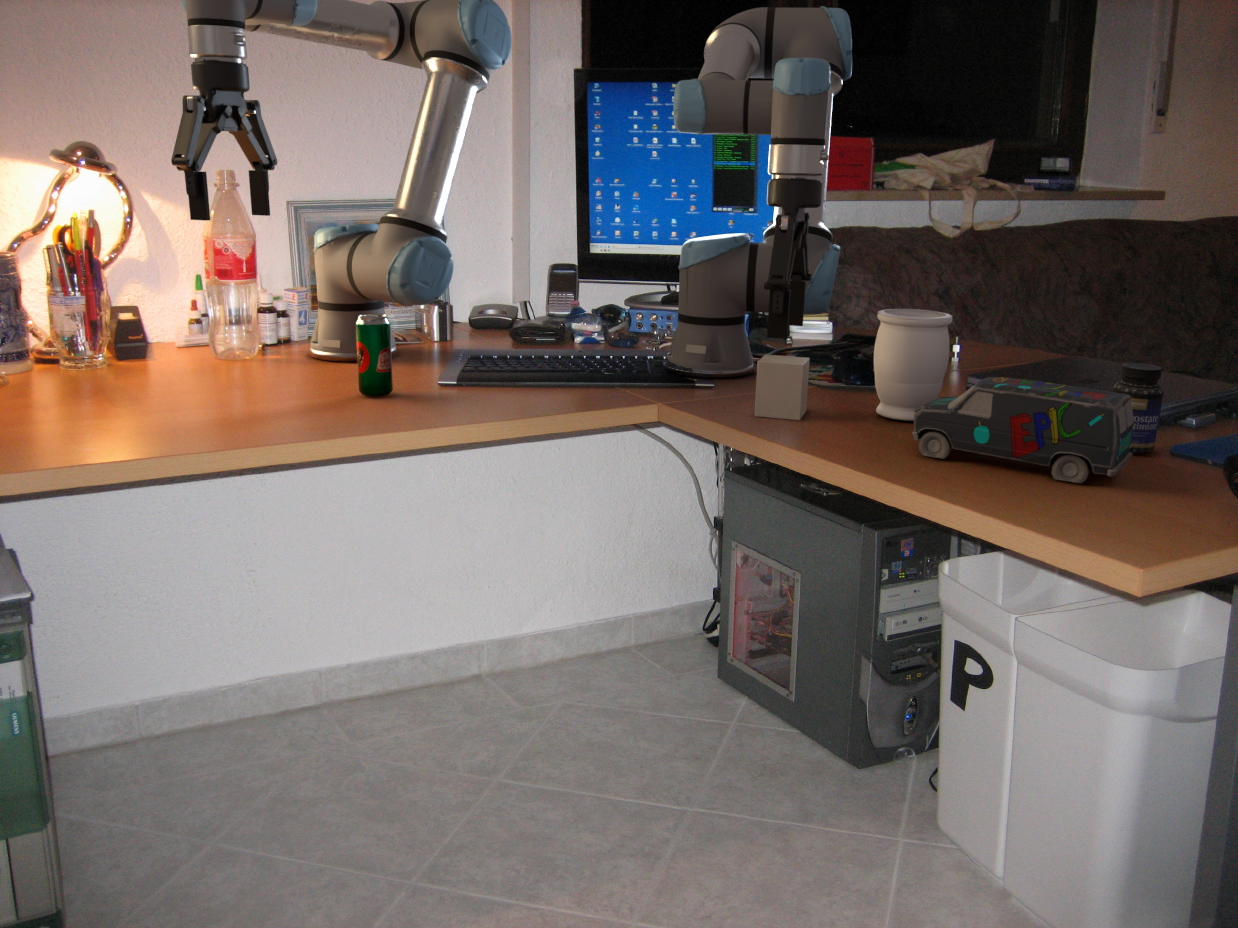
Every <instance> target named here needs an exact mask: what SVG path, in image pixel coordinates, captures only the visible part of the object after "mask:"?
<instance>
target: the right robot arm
mask: <svg viewBox="0 0 1238 928" xmlns="http://www.w3.org/2000/svg"><path fill="white" fill-rule="evenodd" d="M852 50H853V39H852V26H851V20H850V16H849V14H848V12H847V11H846V10H845V9H843V8H840V7H826V6H824V5H821V6H820V7H767V6H765V7H763V6H762V7H755V8H750V9H747V10H743V11H742V12H739V13H736V14H734V15H732V16H730V17H728V18H727V19H725V20H723V21H722V22H721V23H720V24H718V25H717V26H716V27H715V28H714V29H713V30H712V31H711V33H710V34H709V35H708V37H707V40H706V42H705V45H704V50H703V59H704V63H703V65H702V67H701V70H700V71H699V75H698V77H697V78H692V79H682V80H679V81H678V82H677V83H676V84H675V88H674V93H673V109H672V111H673V124H674V128H675V130H676V131H677V132H679V133H680V134H681V133H682V134H695V135H697V136H701V135H749V136H750V135H751V136H752V135H753V136H770V142H769V143H770V144H769V148H768V149H769V150H768V164H767V173H768V174H769V175H771V179H769V181H767V190H766V204H767V206H768V207H772V208H774V209H773V223H772V224H771V225H770V226H769V227H767V228H766V229H765V230H764V232H763V234H762V235H763V238H762V242H752V241H751V237H750V235H749V233H746V232H741V233H738V232H737V233H724V234H715V235H708V236H701V237H700V236H699V237H694V238H691V239H687V240H686V241H685V242H684V243H683V244H682V246H681V249H680V257H679V265H678V270H679V274H678V275H679V276H678V278H679V281H678V305H677V325H676V328H675V331H674V334H673V336H672V340H671V343H670V346H669V349H668V352H667V354H666V359H668V360H669V361H670V362H671V363H674V364H677V365H679V366H682V367H685V368H694V369H696V370H701V371H705V372H711V373H699V372H689V371H683V370H678V369H674V368H671V367H669V366H667V365H666V364H665V370H667V371H668V372H670V373H673V374H676V375H679V376H680V375H681V376H686V377H694V378H705V379H706V378H707V379H727V378H728V379H729V378H739V377H743V376H744V377H745V376H748V375H750V374H752V373H753V372H754V359H755V358H756V359H759V360H760V359H761V358H762V357H763V356H764V355H776V354H780V353H787V352H795V351H806V350H807V351H808V350H816V349H817V350H818V349H819V350H820V349H830V348H829V347H832V348H834V347H833V346H839V345H843V344H845V343H847V342H848V341H844V342H836V343H835V342H834V343H825V344H824V343H823V344H812V345H811V344H810V345H802V346H801V345H800V346H790V347H782V348H778V349H775V350H772V351H771V352H769V353H766V354H759V353H754V352H752V351H751V346H750V341H749V337H748V335H747V332H746V331H747V330H746V315H747V314H746V313H747V312H748V313H749V312H750V313H751V312H752V313H768V314H767V315H768V316H767V317H768V318H767V332H766V333H767V334H766V335H767V336H766V338H770V339H782V340H783V339H784V340H787V339H788V337H789V326H790V327H791V326H792V327H793V326H794V327H803V326H804V315H820V314H823V313H825V312H827V310H828V308H829V307H830V303H831V299H832V294H833V290H834V285H835V280H836V275H837V269H838V265H839V260H840V255H841V246H840V245H838V244H836V243H833V233H832V232H831V231H830V230H829V229H828V228H827V227H826V226H825V219H826V218H825V216H826V202H827V190H828V189H827V187H828V173H829V159H830V146H831V145H830V143H831V140H830V139H831V129H832V128H831V127H832V114H833V113H832V112H833V98H834V96H836V95H837V94H839V92H840V91H841V90H842V88H843V84H844V83H843V81H844V82H845V81H846V80H849V79H851V77H852V73H853V51H852ZM749 79H767V80H749Z"/></svg>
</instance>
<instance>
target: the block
mask: <svg viewBox="0 0 1238 928" xmlns="http://www.w3.org/2000/svg"><path fill="white" fill-rule="evenodd" d="M763 355H764V356H763V357H762V358H761V359H760V358H759V360H758V361H757V362H756V363H757V365H756V379H755V381H756V382H755V383H756V384H755V396H754V397H755V400H754V417H758V418H759V417H760V418H769V419H770V418H771V419H780V420H782V419H783V420H793V421H801V420H802V418H803V416H804V415H805V414H806V412H807V402H808V390H809V388H808V387H809V373H810V362H811V361H810V360H811V358H810V357H805V356H790V355H776V354H775V355H766V354H763Z"/></svg>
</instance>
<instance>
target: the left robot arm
mask: <svg viewBox="0 0 1238 928" xmlns="http://www.w3.org/2000/svg"><path fill="white" fill-rule="evenodd" d="M181 5H182V8H183V11H184V13H185V16H186V20H187V38H188V51H189V53H188V55H189V56H190V57H191V58H193V59H194V61H192V62H191V64H190V72H191V81H192V83H191V84H192V88H193V89H194V90H196V91H199V92H198V93H199V95H198V94H197V95H194V94H193V95H192V94H191V95H188V94H187V95H183V96H182V99H181V100H182V101H181V102H182V113H181V116H180V122H179V126H178V129H177V134H176V139H175V142H174V147H173V151H172V155H171V159H170V162H171V165H172V166H173V167H176V169H177V171H179V172H183V173H184V181H185V192H186V194H187V196H188V197H187V198H188V205H189V207H188V209H189V217H190V220H191V221H211V213H210V212H211V209H210V200H209V188H208V177H207V171H202V169H203V166H204V164H205V162H206V160H207V158H208V156H209V153H210V151H211V148H212V147H213V145H214V142H215V140H216V138H217V137H218V135H219V134H220V133H222V132H228V133H229V134H230V135H232V136H233V137H234V139H235V141H236V142H237V144H238V146H239V148H240V150H241V152H242V153H243V154H244V156H245V158H246V159H247V161H248V163H249V164H250V166H251V168H252V169H249V170H248V181H249V182H248V183H249V195H250V208H251V215H252V216H263V217H264V216H265V217H268V216H269V217H270V216H271V207H270V193H269V192H270V180H269V179H270V178H269V171H274V170H275V169H276V166H277V165H278V158H277V155H276V153H275V150H274V147H273V144H272V142H271V139H270V136H269V133H268V130H267V128H266V125H265V121H264V119H263V115H262V110H261V103H260V101H259V99H245V95H244V94H245V93H247V92H248V91H250V87H251V86H250V85H251V84H250V74H249V66H247V64H246V63H244V61H246V60H247V59H248V53H247V41H246V40H247V39H246V32H250V33H257V34H262V35H267V36H273V37H280V38H286V39H292V40H297V41H303V42H310V43H313V44H315V43H316V44H320V45H326V46H332V47H339V48H344V49H351V50H357V51H361V52H362V51H363V52H366V54H367V55H368V56H369V57H370V58H372V59H373V60H378V61H384V62H388V63H393V64H398V65H401V66H406V67H411V68H414V69H419V70H423V72H424V74H425V76H426V77H427V78H426V82H425V85H424V89H423V93H422V97H421V101H420V105H419V108H418V112H417V114H416V115H417V116H416V119H415V123H414V126H413V131H412V134H411V138H410V142H409V146H408V149H407V152H406V157H405V161H404V165H403V168H402V172H401V176H400V180H399V184H398V187H397V190H396V195H395V198H394V201H393V206H392V208H391V210H389V211H387V212H385V213H383V214H382V215H381V216H380V219H379V223H360V224H357V223H356V224H348V225H335V226H327V227H321V228H319V229H318V230H316V231H315V233H314V238H313V240H314V241H313V243H314V244H313V245H314V246H313V247H314V248H313V256H314V257H313V259H314V271H315V281H316V283H315V285H316V297H317V310H318V311H317V316H316V321H315V323H314V327H313V331H312V335H311V338H310V342H309V355H310V356H311V357H312V358H314V359H317V360H323V361H331V362H358V361H357V341H356V322H357V320H358V315H362V314H385V315H387V314H386V311H385V303H392V304H399V305H400V306H405V307H406V306H407V307H409V306H427V305H430V304H432V303H433V302H435V301H437V300H438V299H440V298H441V297H442V296H443V294H444V293H445V292H446V291H447V289H448V287H449V285H450V283H451V281H452V278H453V274H454V267H455V266H454V260H453V259H452V256H453V254H452V251H451V249H450V247H449V246H448V244H447V241H448V234H447V232H446V230H445V229H444V227H443V221H444V217H445V213H446V209H447V206H448V203H449V197H450V195H451V190H452V187H453V183H454V179H455V175H456V171H457V167H458V163H459V160H460V156H461V152H462V148H463V146H464V145H463V144H464V141H465V137H466V133H467V130H468V125H469V123H470V119H471V114H472V111H473V106H474V103H475V99H476V96H477V94H478V93H481V92H482V91H484V90H486V89H487V88H488V84H489V81H490V78H491V73H492V70H493V71H494V70H497V69H500V68H501V67H502V66H504V65H506V64H507V63H508V61H509V59H510V56H511V54H512V48H513V38H512V37H513V36H512V31H511V27H510V25H509V22H508V18H507V16H506V14H505V12H504V11H503V9H502V8H501V7H500V5H499V4H498V3H497V2H496V1H495V0H416V1H407V2H405V1H404V2H390V1H384V0H375V1H373V2H371V3H363V2H360V1H354V0H181ZM390 332H391V356H392V357H394V356H395V355H396V354H397V344H396V339H395V337H394V333H393V331H392V329H391V327H390Z"/></svg>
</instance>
